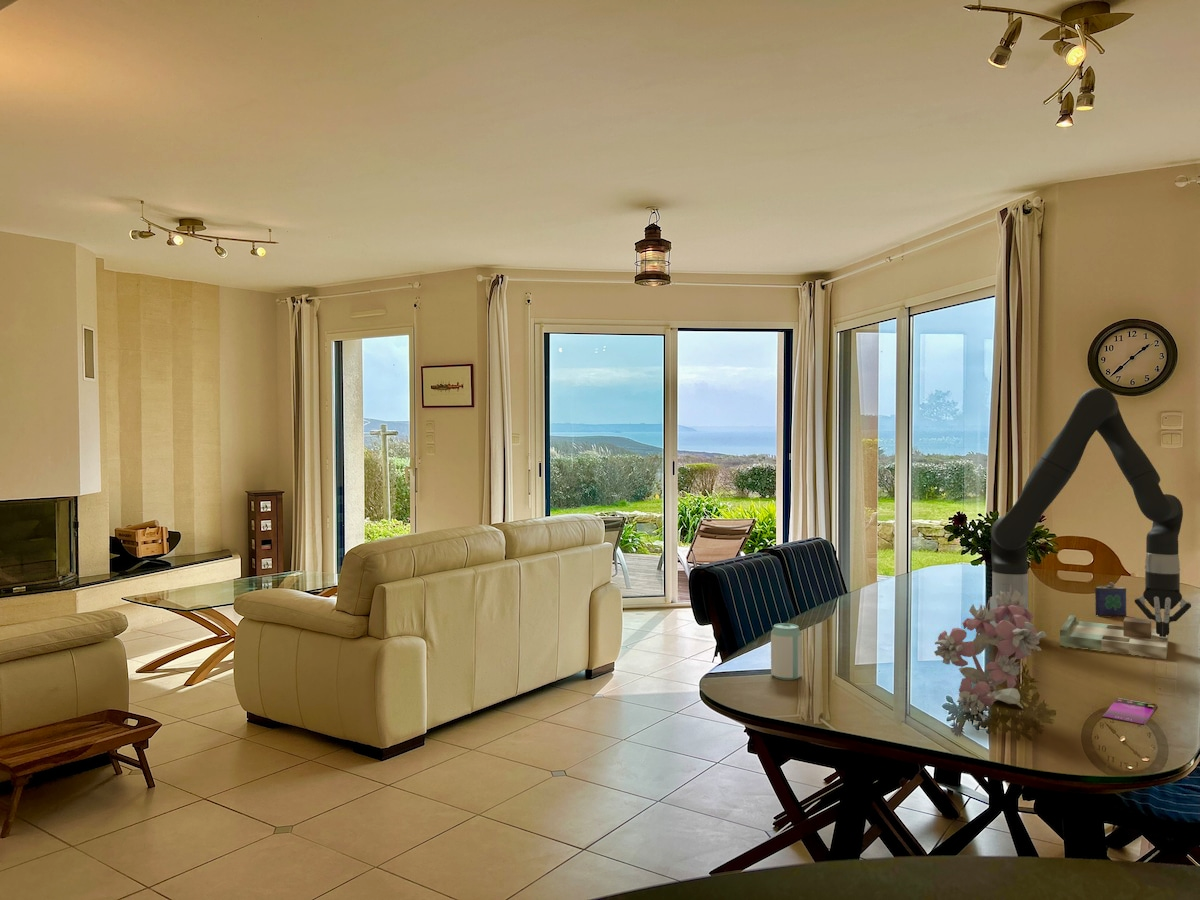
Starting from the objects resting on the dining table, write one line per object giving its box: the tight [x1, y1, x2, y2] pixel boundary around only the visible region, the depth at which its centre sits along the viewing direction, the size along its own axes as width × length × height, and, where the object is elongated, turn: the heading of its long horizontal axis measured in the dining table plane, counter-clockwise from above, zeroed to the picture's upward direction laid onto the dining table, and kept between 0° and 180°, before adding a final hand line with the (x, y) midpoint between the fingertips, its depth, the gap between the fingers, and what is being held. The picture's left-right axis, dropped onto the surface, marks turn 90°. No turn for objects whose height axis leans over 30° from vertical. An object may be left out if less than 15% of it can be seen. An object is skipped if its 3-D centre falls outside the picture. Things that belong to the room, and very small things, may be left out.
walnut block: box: [1122, 616, 1152, 639], centre depth 223 cm, size 6×6×4 cm
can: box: [770, 622, 803, 681], centre depth 196 cm, size 7×7×12 cm
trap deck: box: [1059, 614, 1169, 660], centre depth 226 cm, size 24×23×4 cm
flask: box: [1094, 581, 1127, 618], centre depth 262 cm, size 9×3×11 cm, turn 88°
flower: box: [933, 585, 1048, 716], centre depth 174 cm, size 20×22×25 cm
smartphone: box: [1102, 697, 1158, 726], centre depth 169 cm, size 7×15×1 cm, turn 138°
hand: (1162, 636), depth 220 cm, fingers closed
